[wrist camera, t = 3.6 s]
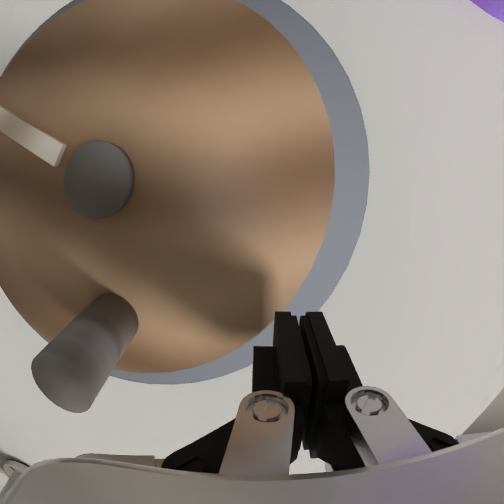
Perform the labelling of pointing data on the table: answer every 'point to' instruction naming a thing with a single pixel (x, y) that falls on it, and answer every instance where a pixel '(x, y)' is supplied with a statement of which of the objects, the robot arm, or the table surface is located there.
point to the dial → (156, 186)
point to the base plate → (344, 196)
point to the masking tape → (492, 7)
